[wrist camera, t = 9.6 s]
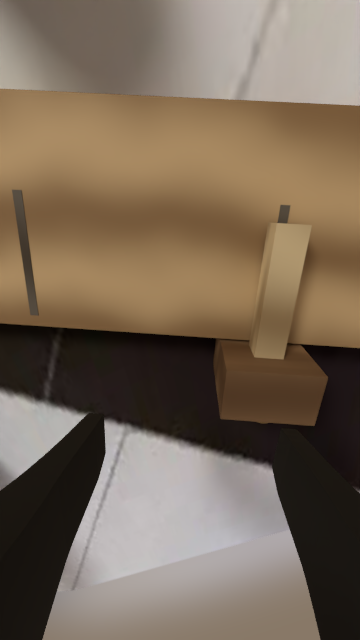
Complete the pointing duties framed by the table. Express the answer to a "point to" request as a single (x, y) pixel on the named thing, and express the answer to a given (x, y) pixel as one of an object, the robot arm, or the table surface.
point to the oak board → (175, 212)
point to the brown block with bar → (271, 344)
